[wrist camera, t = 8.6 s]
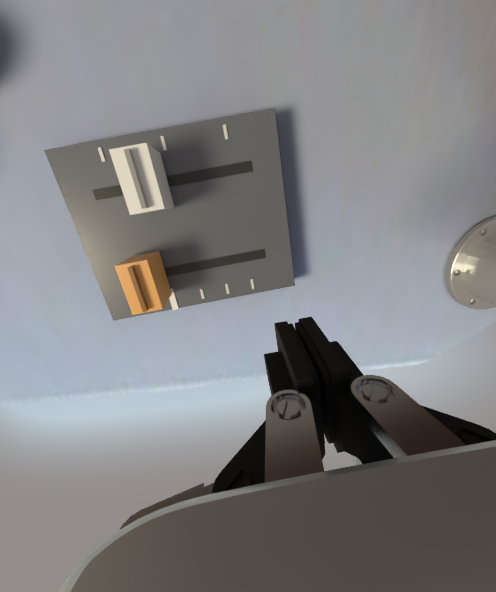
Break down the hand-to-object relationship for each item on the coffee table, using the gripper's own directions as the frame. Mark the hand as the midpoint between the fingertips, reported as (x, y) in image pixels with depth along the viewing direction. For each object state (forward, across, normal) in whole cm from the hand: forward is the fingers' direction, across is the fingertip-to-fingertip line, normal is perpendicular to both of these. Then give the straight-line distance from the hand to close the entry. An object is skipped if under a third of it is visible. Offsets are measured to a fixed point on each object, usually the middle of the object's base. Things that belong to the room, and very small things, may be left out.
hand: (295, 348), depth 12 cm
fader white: (+18, +9, -10) cm, 22 cm away
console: (+21, +7, -5) cm, 23 cm away
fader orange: (+18, +12, 0) cm, 22 cm away
